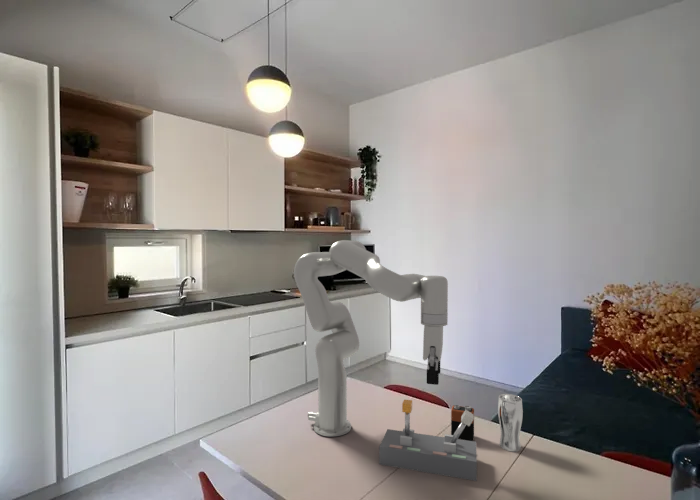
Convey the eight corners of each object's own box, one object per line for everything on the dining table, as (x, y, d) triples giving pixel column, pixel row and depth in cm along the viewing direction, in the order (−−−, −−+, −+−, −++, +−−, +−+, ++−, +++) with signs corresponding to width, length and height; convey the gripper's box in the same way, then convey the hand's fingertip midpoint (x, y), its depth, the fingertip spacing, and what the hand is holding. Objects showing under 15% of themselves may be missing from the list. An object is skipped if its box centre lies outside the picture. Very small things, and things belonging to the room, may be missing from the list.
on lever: (445, 445, 108) (465, 414, 106) (446, 439, 111) (465, 409, 109) (453, 450, 107) (473, 419, 105) (454, 445, 110) (473, 414, 108)
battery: (473, 442, 122) (473, 410, 122) (450, 438, 124) (451, 407, 124) (474, 435, 126) (474, 405, 126) (452, 432, 128) (452, 402, 128)
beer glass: (521, 443, 121) (521, 395, 121) (523, 454, 115) (523, 403, 115) (497, 439, 124) (497, 392, 123) (498, 450, 117) (498, 400, 117)
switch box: (379, 464, 109) (379, 438, 109) (387, 445, 120) (387, 421, 120) (476, 480, 102) (476, 453, 102) (476, 459, 112) (476, 434, 112)
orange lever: (402, 440, 111) (402, 403, 111) (404, 435, 114) (404, 399, 114) (410, 442, 111) (410, 404, 111) (412, 436, 114) (412, 400, 114)
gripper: (423, 313, 121) (423, 368, 121) (417, 323, 104) (417, 387, 105) (448, 314, 119) (448, 370, 119) (446, 325, 102) (446, 390, 103)
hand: (433, 378), depth 112 cm, fingers open, 9 cm apart
